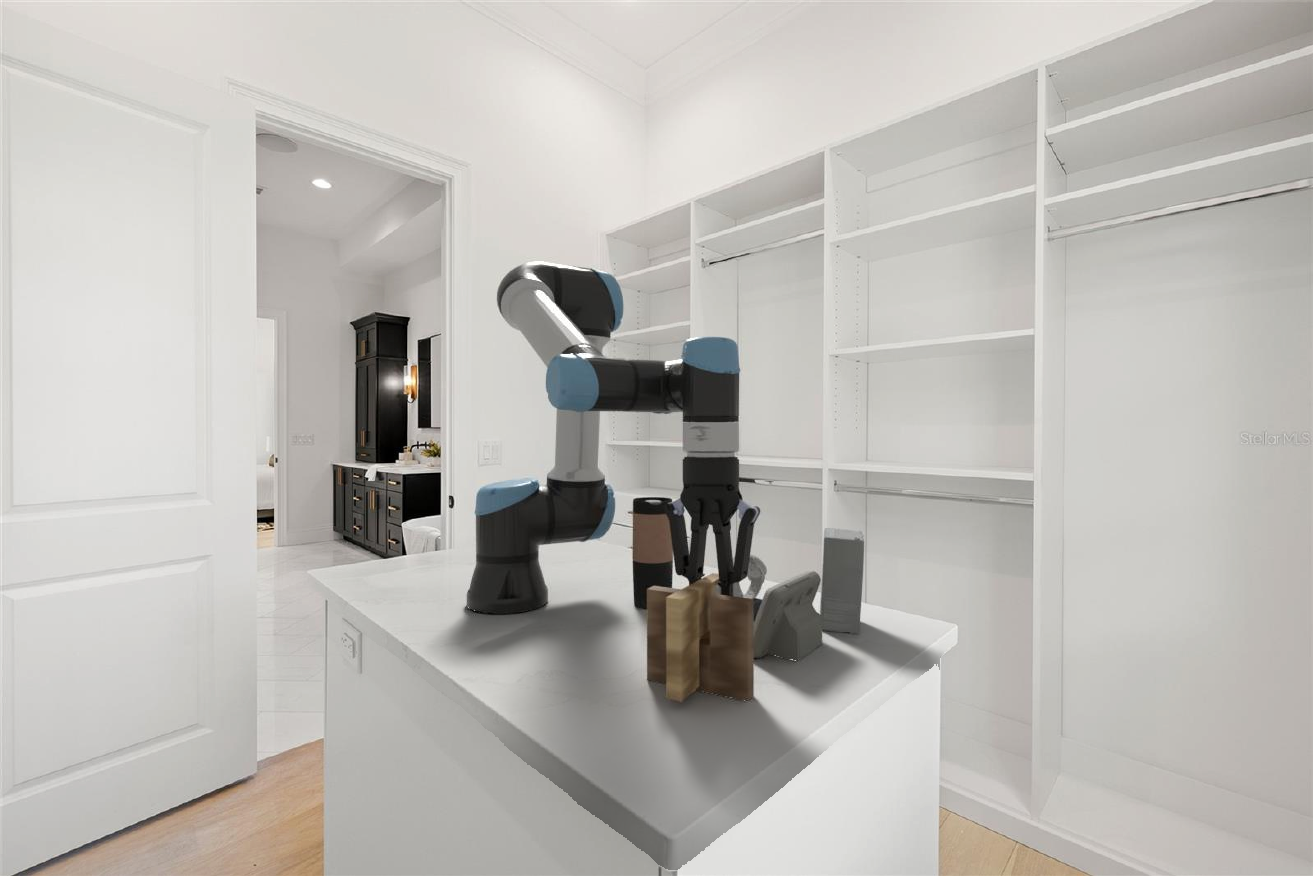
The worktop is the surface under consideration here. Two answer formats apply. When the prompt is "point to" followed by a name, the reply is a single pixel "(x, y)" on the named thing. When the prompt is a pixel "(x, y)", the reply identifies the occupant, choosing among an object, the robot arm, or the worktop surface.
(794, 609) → the digital clock
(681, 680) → the notched board
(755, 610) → the watch
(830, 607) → the skincare box
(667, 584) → the travel mug
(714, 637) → the notched stand
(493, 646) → the worktop surface
